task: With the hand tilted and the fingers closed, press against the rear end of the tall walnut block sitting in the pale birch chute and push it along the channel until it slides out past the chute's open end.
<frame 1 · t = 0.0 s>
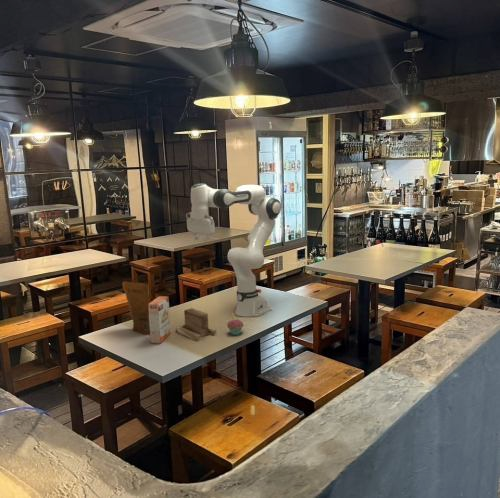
hand: (201, 240, 241), 48 cm above the table, fingers open, 8 cm apart
cracker box: (161, 339, 236), on the table
block: (197, 333, 241), resting in chute
cupcake: (235, 333, 240), on the table
pancake mix bag: (141, 331, 247), on the table
chute: (198, 333, 241), on the table
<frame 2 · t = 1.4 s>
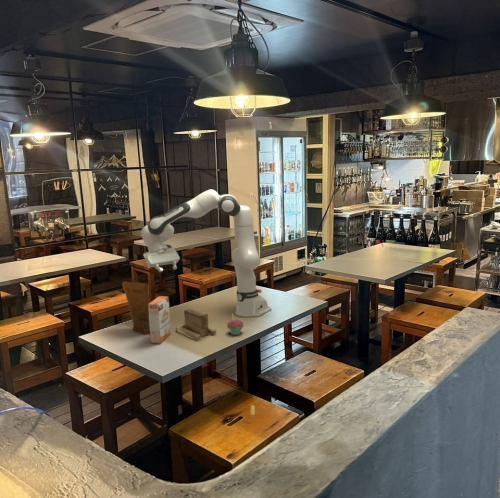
hand: (168, 270, 252), 31 cm above the table, fingers open, 8 cm apart
nothing on the table moved.
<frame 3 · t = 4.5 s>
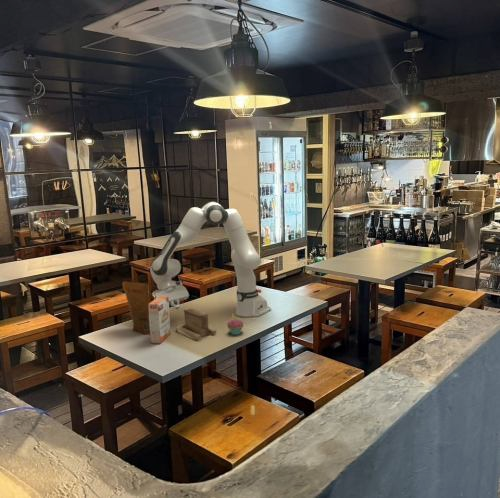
hand: (177, 308, 252), 10 cm above the table, fingers closed
nothing on the table moved.
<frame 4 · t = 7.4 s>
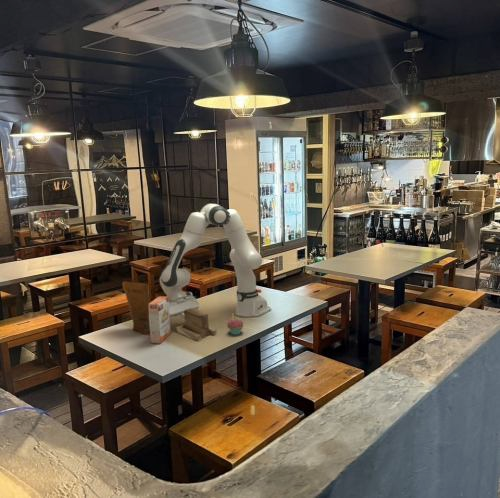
hand: (188, 319, 246), 6 cm above the table, fingers closed, pressing on block
block: (197, 333, 241), resting in chute, touching gripper
everything else where it was.
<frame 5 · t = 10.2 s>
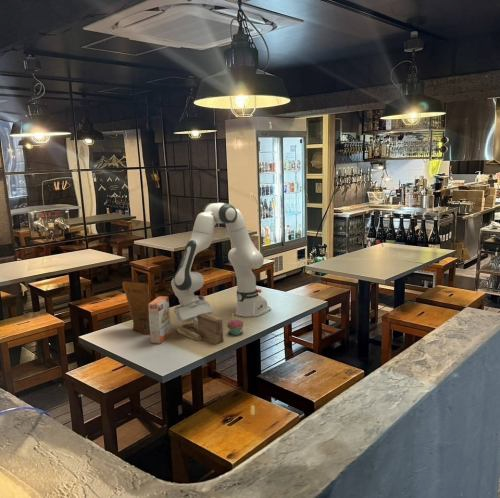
hand: (201, 324, 237), 6 cm above the table, fingers closed, pressing on block
block: (210, 339, 233), on the table, touching gripper
everything else where it was.
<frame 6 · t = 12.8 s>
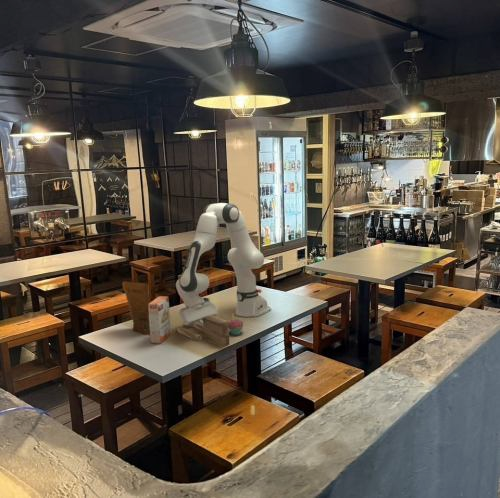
hand: (206, 326, 234), 6 cm above the table, fingers closed
block: (216, 341, 229), on the table
everything else where it was.
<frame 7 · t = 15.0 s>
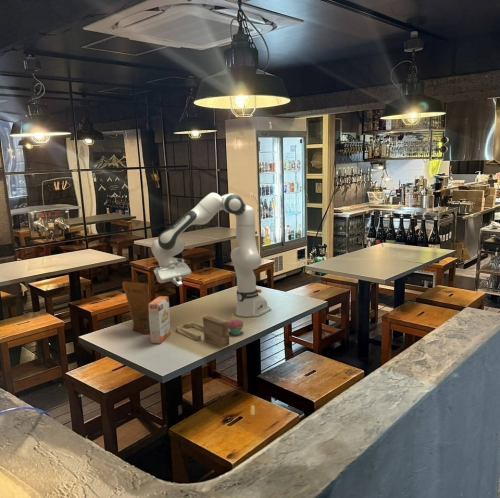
hand: (180, 285, 246), 24 cm above the table, fingers closed
nothing on the table moved.
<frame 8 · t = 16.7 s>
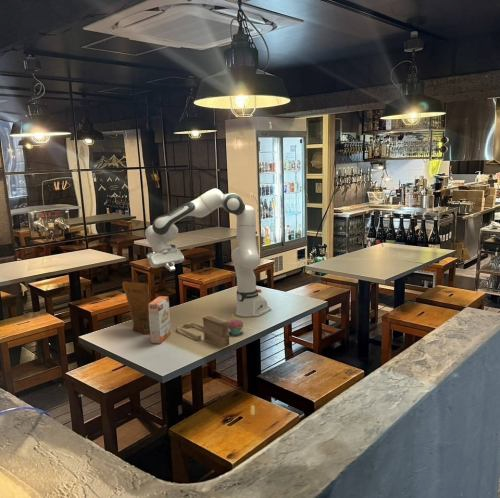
hand: (172, 270, 249), 31 cm above the table, fingers closed
nothing on the table moved.
at the end: block inside the target area (0.1 cm from its centre), on the table; block tilted 0° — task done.
